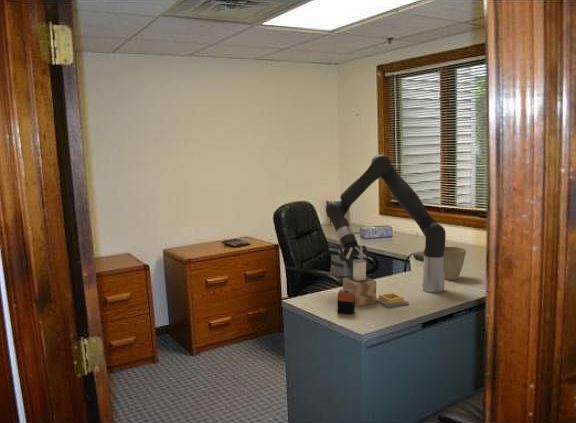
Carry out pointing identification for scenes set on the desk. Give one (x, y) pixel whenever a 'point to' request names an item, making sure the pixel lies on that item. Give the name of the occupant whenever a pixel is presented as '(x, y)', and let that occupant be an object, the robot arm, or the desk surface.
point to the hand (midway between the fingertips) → (359, 266)
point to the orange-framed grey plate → (391, 300)
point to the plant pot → (453, 262)
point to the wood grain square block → (361, 290)
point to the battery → (346, 302)
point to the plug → (359, 269)
